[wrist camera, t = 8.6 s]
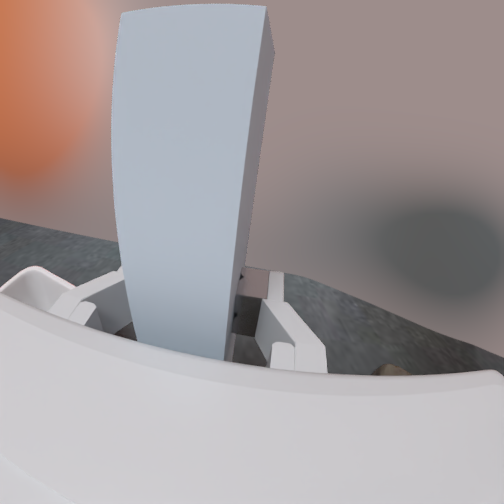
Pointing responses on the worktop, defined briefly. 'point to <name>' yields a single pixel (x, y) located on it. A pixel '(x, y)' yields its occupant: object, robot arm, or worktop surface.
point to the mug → (36, 287)
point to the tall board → (188, 165)
